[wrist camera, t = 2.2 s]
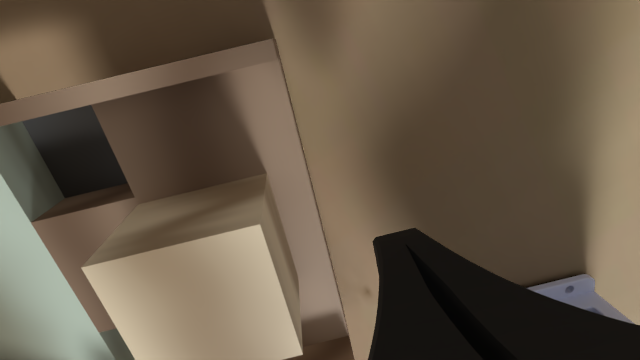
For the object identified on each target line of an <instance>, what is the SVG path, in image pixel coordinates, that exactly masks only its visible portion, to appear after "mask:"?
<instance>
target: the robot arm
mask: <svg viewBox="0 0 640 360" xmlns="http://www.w3.org/2000/svg"><path fill="white" fill-rule="evenodd" d="M373 246H374V251H375V256H376V262H377V267H378V272H379V297H378V309H377V317H376V324H375V330H374V335H373V340H372V345H371V349H370V354H369V358H368V360H640V325H636V324H634V323H633V322H632V321H630V320H629V319H628V318H627V317H625V316H624V315H623V314H622V313H620V312H619V311H618V310H617V309H616V308H614V307H613V306H612V305H611V304H609V303H608V302H607V301H606V300H604V299H603V298H602V297H601V296H599V295H598V294H597V293H596V292H594V288H595V280H594V279H593V278H592V277H591V276H589V275H587V274H582V275H578V276H574V277H570V278H566V279H561V280H557V281H553V282H549V283H545V284H541V285H537V286H533V287H529V288H525V287H522V286H520V285H517V284H515V283H513V282H510V281H508V280H506V279H504V278H502V277H500V276H497V275H495V274H493V273H491V272H489V271H488V270H486V269H484V268H482V267H480V266H478V265H476V264H474V263H472V262H470V261H468V260H467V259H465V258H463V257H461V256H460V255H458V254H456V253H454V252H453V251H451V250H449V249H448V248H446V247H445V246H443V245H441V244H440V243H438V242H437V241H435V240H433V239H432V238H430V237H429V236H427V235H425V234H424V233H422V232H421V231H419V230H418V229H416V228H412V229H408V230H403V231H399V232H395V233H391V234H387V235H383V236H379V237H376V238H375V239H374V240H373Z"/></svg>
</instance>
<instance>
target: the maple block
mask: <svg viewBox="0 0 640 360" xmlns="http://www.w3.org/2000/svg"><path fill="white" fill-rule="evenodd" d="M81 268H82V270H83V272H84V274H85V275H86V277H87V279H88V280H89V282H90V284H91V285H92V287H93V289H94V291H95V292H96V294H97V296H98V297H99V299H100V301H101V302H102V304H103V306H104V307H105V309H106V311H107V313H108V314H109V316H110V318H111V319H112V321H113V323H114V324H115V326H116V328H117V330H118V331H119V333H120V335H121V336H122V338H123V340H124V341H125V343H126V345H127V346H128V348H129V350H130V352H131V353H132V355H133V357H134V358H135V360H283V359H287V358H291V357H295V356H299V355H303V346H302V329H301V312H300V296H299V279H298V275H297V272H296V268H295V265H294V262H293V258H292V255H291V252H290V248H289V245H288V242H287V238H286V235H285V232H284V228H283V225H282V222H281V219H280V215H279V212H278V209H277V205H276V202H275V199H274V195H273V192H272V189H271V185H270V182H269V179H268V175H267V173H266V174H262V175H258V176H253V177H249V178H245V179H241V180H237V181H233V182H229V183H225V184H220V185H216V186H212V187H208V188H204V189H200V190H196V191H192V192H187V193H183V194H179V195H175V196H171V197H167V198H163V199H159V200H154V201H150V202H146V203H142V204H138V205H137V206H136V207H135V209H134V210H133V211H132V212H131V213H130V214H129V215H128V216H127V217H126V219H125V220H124V221H123V222H122V223H121V224H120V225H119V226H118V227H117V228H116V230H115V231H114V232H113V233H112V234H111V235H110V236H109V237H108V238H107V240H106V241H105V242H104V243H103V244H102V245H101V246H100V247H99V248H98V250H97V251H96V252H95V253H94V254H93V255H92V256H91V257H90V258H89V260H88V261H87V262H86V263H85V264H84V265H83V266H82V267H81Z"/></svg>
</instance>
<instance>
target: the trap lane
mask: <svg viewBox="0 0 640 360" xmlns="http://www.w3.org/2000/svg"><path fill="white" fill-rule="evenodd" d="M266 173H267V175H268V179H269V182H270V185H271V189H272V192H273V195H274V199H275V202H276V205H277V209H278V212H279V215H280V219H281V222H282V225H283V228H284V232H285V235H286V238H287V242H288V245H289V248H290V252H291V255H292V258H293V262H294V265H295V268H296V272H297V275H298V279H299V296H300V312H301V329H302V346H303V355H299V356H295V357H291V358H287V359H283V360H354V356H353V351H352V347H351V342H350V338H349V333H348V329H347V324H346V320H345V315H344V311H343V306H342V302H341V298H340V294H339V290H338V286H337V282H336V278H335V274H334V270H333V266H332V262H331V258H330V254H329V251H328V247H327V243H326V239H325V235H324V231H323V227H322V223H321V219H320V215H319V211H318V207H317V203H316V199H315V195H314V191H313V187H312V183H311V179H310V175H309V171H308V167H307V163H306V159H305V155H304V151H303V147H302V143H301V139H300V135H299V131H298V127H297V123H296V119H295V115H294V111H293V107H292V103H291V99H290V95H289V91H288V87H287V83H286V79H285V75H284V71H283V67H282V63H281V59H280V55H279V51H278V47H277V44H276V40H275V39H268V40H264V41H260V42H255V43H251V44H247V45H243V46H239V47H235V48H230V49H226V50H222V51H218V52H214V53H210V54H205V55H201V56H197V57H193V58H189V59H185V60H180V61H176V62H172V63H168V64H164V65H160V66H155V67H151V68H147V69H143V70H139V71H135V72H130V73H126V74H122V75H118V76H114V77H110V78H105V79H101V80H97V81H93V82H89V83H85V84H80V85H76V86H72V87H68V88H64V89H60V90H55V91H51V92H47V93H43V94H39V95H35V96H30V97H26V98H22V99H18V100H14V101H10V102H5V103H1V104H0V360H135V358H134V357H133V355H132V353H131V352H130V350H129V348H128V346H127V345H126V343H125V341H124V340H123V338H122V336H121V335H120V333H119V331H118V330H117V328H116V326H115V324H114V323H113V321H112V319H111V318H110V316H109V314H108V313H107V311H106V309H105V307H104V306H103V304H102V302H101V301H100V299H99V297H98V296H97V294H96V292H95V291H94V289H93V287H92V285H91V284H90V282H89V280H88V279H87V277H86V275H85V274H84V272H83V270H82V268H81V267H82V266H83V265H84V264H85V263H86V262H87V261H88V260H89V258H90V257H91V256H92V255H93V254H94V253H95V252H96V251H97V250H98V248H99V247H100V246H101V245H102V244H103V243H104V242H105V241H106V240H107V238H108V237H109V236H110V235H111V234H112V233H113V232H114V231H115V230H116V228H117V227H118V226H119V225H120V224H121V223H122V222H123V221H124V220H125V219H126V217H127V216H128V215H129V214H130V213H131V212H132V211H133V210H134V209H135V207H136V206H137V205H138V204H142V203H146V202H150V201H154V200H159V199H163V198H167V197H171V196H175V195H179V194H183V193H187V192H192V191H196V190H200V189H204V188H208V187H212V186H216V185H220V184H225V183H229V182H233V181H237V180H241V179H245V178H249V177H253V176H258V175H262V174H266Z"/></svg>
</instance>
